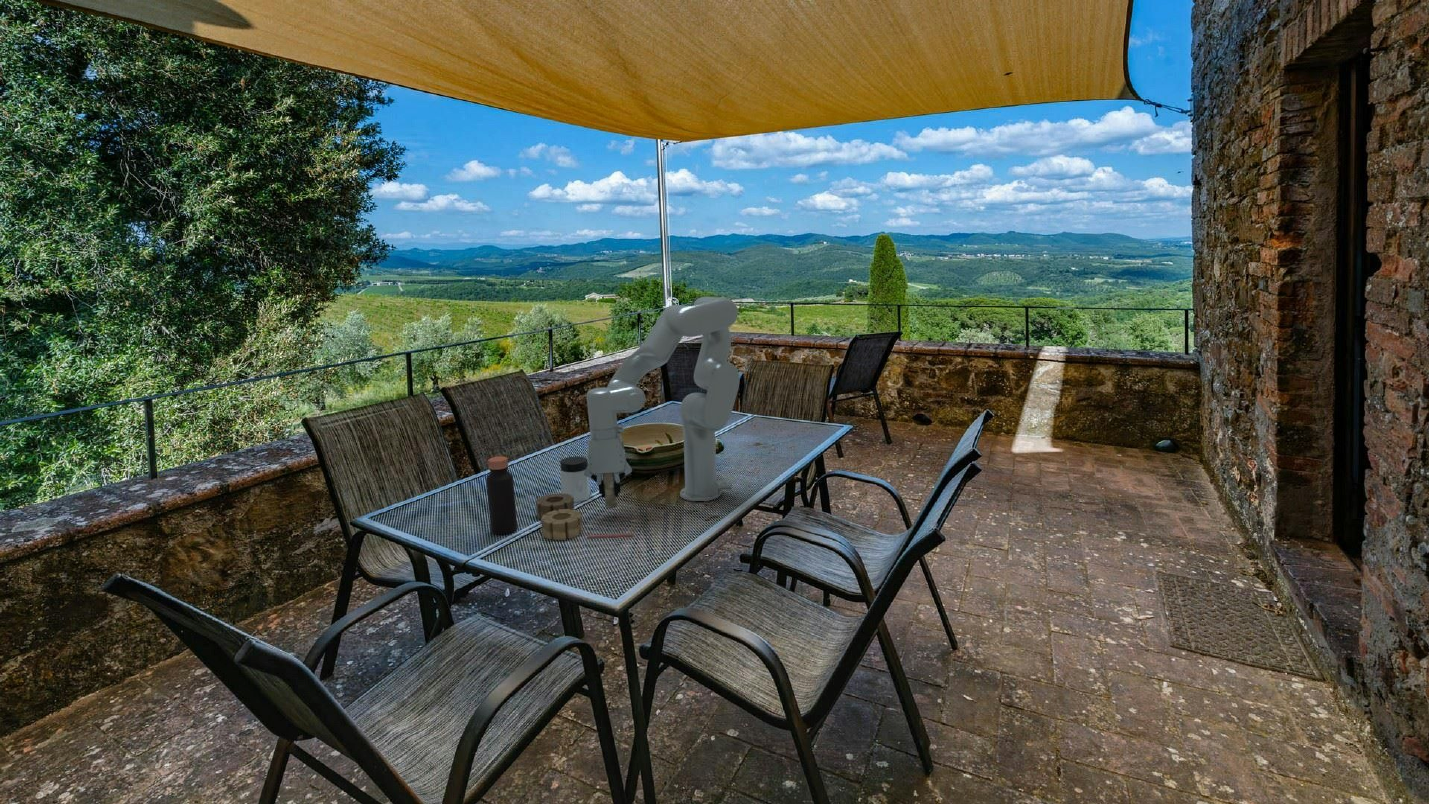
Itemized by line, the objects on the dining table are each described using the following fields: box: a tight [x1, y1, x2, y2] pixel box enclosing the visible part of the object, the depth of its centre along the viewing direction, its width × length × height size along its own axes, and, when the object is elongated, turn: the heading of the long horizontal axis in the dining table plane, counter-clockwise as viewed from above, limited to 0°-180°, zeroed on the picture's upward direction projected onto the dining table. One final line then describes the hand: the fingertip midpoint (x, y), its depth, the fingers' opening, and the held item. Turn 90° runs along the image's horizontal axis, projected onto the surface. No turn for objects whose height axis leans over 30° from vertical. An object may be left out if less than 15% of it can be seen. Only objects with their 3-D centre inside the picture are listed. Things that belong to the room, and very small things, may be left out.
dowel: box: [602, 473, 618, 509], centre depth 183 cm, size 3×3×12 cm
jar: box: [559, 456, 591, 504], centre depth 198 cm, size 9×8×12 cm
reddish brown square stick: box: [586, 533, 635, 539], centre depth 170 cm, size 12×1×1 cm, turn 94°
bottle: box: [485, 456, 518, 536], centre depth 173 cm, size 7×7×20 cm
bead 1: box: [535, 492, 575, 520], centre depth 186 cm, size 10×10×4 cm
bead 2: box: [540, 508, 583, 541], centre depth 173 cm, size 10×10×4 cm
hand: (610, 495), depth 183 cm, fingers closed on dowel, 3 cm apart
